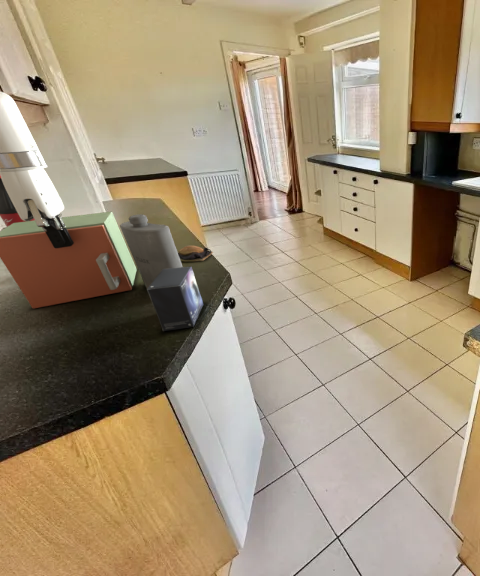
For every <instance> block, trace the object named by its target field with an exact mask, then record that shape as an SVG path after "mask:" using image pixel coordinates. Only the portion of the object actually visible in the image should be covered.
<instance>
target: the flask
mask: <svg viewBox="0 0 480 576" xmlns="http://www.w3.org/2000/svg"><path fill="white" fill-rule="evenodd" d="M119 229H120V231H121V233H122V236H123V238H124V240H125V243H126V245H127V247H128V250H129V252H130V254H131V257H132V259H133V261H134V264H135V266H136V268H137V271H138V273H139V274H140V277H141V280H142V282H143V284H144V286H145V288H146V289H147V288H148V287H149V286H150V284H151V283H152V282H153V281H154V279H155V278H156V277H157V276H158V275H159V273H160V272H161V271H162V269H169V268H181V267H184V266H183V264H182V261H180V258H179V255H178V253H179V252H178V249H177V247H176V244H175V241H174V238H173V236H172V233H171V229H170V227H169V226H168V225H165V224H158V223H151V222H149V219H148V217H147V215H145V214H144V213H143V214H142V213H141V214H138V213H137V214H132V215H130V216H129V218H128V221H124V222H122V223H121V224H119Z"/></svg>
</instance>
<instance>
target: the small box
mask: <svg viewBox="0 0 480 576" xmlns="http://www.w3.org/2000/svg"><path fill="white" fill-rule="evenodd" d="M146 291H147V295H148V297H149V298H150V301H151V304H152V306H153V309H154V311H155V313H156V316H157V318H158V321H159V324H160V326H161V329H162V332H168V331H174V330H181V329H189V328H194V327H195V325H196V323H197V321H198V318H199V315H200V314H201V311H202V308H203V306H204V302H203V298H202V296H201V291H200V289H199V286H198V283H197V280H196V277H195V273H194V270H193V267H192V266H183V267H181V268H169V269H162V271H161V272H160V273H159V275H158V276H157V277H156V278H155V279H154V281H153V282H152V283H151V284H150V286H149V287H148V288H146Z"/></svg>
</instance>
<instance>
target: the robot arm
mask: <svg viewBox="0 0 480 576" xmlns="http://www.w3.org/2000/svg"><path fill="white" fill-rule="evenodd" d="M23 117H24V116H23V115H22V113H21V110H20V109H19V107H18V105H17V103H16V101H15V100H14V98H13V97H12V96H11V95H9V94H8V93H6V92H3V91H0V176H1V179H2V182H3V184H4V186H5V189H6V191H7V193H8V195H9V197H10V199H11V201H12V203H13V205H14V207H15V209H16V211H17V212H18V214H19V216H20V218H21V219H22V220H24V221H30V220H32V219H34V220H35V222H36V224H37V226H38V227H42V229H43V230H44V232H46V234H47V236H48V238H49V240H50V241H51V243H52V245H53V247H54V248H63V247H70V246H72V245H73V244H74V242H73V240H72V238H71V236H70V234H69V232H68V230H67V229H66V228H64V227H65V224H64V222H63V219H62V217H63V216H62V214H63V213H62V212H63V211H64V210H65V205H64V203H63V200H62V198H61V196H60V194H59V192H58V190H57V188H56V187H55V185H54V183H53V181H52V180H51V178H50V176H49V175H48V173H47V171H46V170H45V168H48V165H47V163H46V161H45V159H44V157H43V154H42V153H41V151H40V149H39V146H38V145H37V143H36V141H35V139H34V137H33V134H32V133H31V131H30V128H29V126H28V125H27V123H26V121H25V119H24V118H23Z"/></svg>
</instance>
